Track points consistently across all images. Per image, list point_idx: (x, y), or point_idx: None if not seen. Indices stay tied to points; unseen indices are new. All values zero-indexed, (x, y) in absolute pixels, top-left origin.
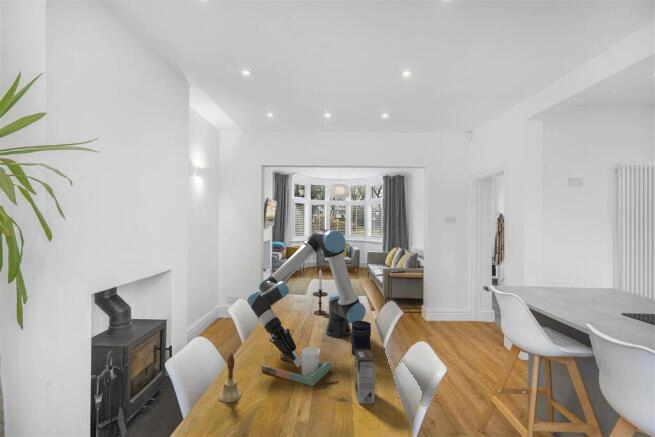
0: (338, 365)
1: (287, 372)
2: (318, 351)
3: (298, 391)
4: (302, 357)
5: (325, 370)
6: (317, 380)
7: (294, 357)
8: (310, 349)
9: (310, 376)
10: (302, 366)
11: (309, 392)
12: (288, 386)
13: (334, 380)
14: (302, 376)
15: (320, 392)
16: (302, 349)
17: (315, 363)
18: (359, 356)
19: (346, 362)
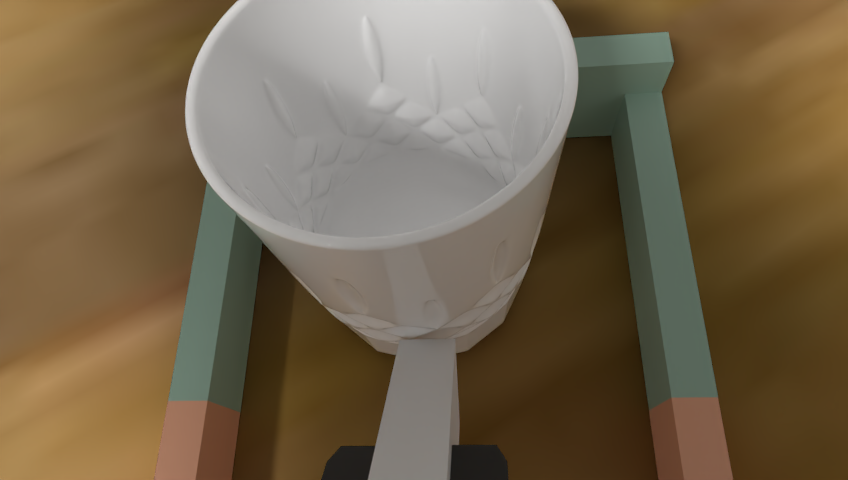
0: (115, 107)
1: (716, 451)
2: (277, 5)
3: (826, 170)
4: (543, 201)
5: None
6: None
7: (472, 465)
8: (230, 176)
9: (671, 66)
10: (523, 271)
11: (758, 77)
12: (831, 324)
13: None
14: (665, 199)
15: (686, 6)
16: (405, 233)
17: (456, 70)
18: None
19: (28, 75)
